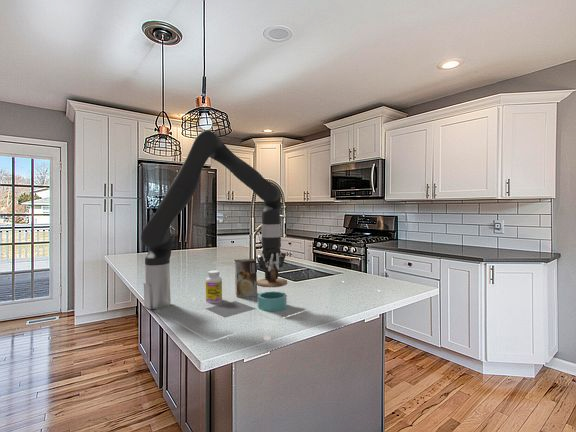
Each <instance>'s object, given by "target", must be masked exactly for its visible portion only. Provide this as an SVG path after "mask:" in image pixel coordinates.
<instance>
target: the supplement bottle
mask: <svg viewBox="0 0 576 432" xmlns="http://www.w3.org/2000/svg"><path fill="white" fill-rule="evenodd" d="M207 275H208V277H206V279H205V302H206V303H208V304H216V303H221V302H222V301H223V279H222V277H221V276H220V270H216V269H215V270H209V271H207Z"/></svg>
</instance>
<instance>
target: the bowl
mask: <svg viewBox="0 0 576 432" xmlns="http://www.w3.org/2000/svg"><path fill="white" fill-rule="evenodd" d="M287 303H288V302H287V294H286V293H285V292H282V291H275V290H274V291H264V292H260V293H258V294H257V308H258V310H260V311H263V312H279V311H283V310H285V309H287V305H288V304H287Z"/></svg>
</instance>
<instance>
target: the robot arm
mask: <svg viewBox="0 0 576 432" xmlns="http://www.w3.org/2000/svg"><path fill="white" fill-rule="evenodd" d="M209 158H211V159H212V160H213V161H217V163H219V164H221V165H222V166H224V167H225V168H226V169H228V171H229V172H230V173H231V174H233V176H234V177H236V178H237V179H238V180H239V181H240V182H241V183H243V184H244V185H245V186H246V187H248V188H249V189H250V190H252V191H253V192H254V193H255V194H256V196H257V197H259V198H260V200H262V201H263V210H262V212H261V213H262V214H261V248H262V251H261V254H260V255H256V262H257V263H258V266H259V268H260V270H263V271H264V279H266V280H267V281H270V280H271V271H270V270H271V268H275V269H276V279H278V278H279V270H280V269H281V268H283V266H284V262H285V260H286V255H287V254H286V252H282V251H281V248H282V233H281V232H282V229H281V214H280V211H281V203H282V192H281V190H280V188H279V186H277V185H275V184H273V183H272V182H270V181H268V180H267V179H266V178H264V177H263V175H262V174H261V173H260V172H258V170H257V169H255V168H254V167H253V166H252V165H250V164H249V163H247V162H246V161H244V160H242V159H241V158H240V157H238V156H237V155H236V154H235V153H234V152H232V151H231V150H230V149H229V148H228V147H227V145H226V144H225V143H224V142H223V141H222V140H221V138H220V137H219V136H218V135H216V133H214V132H213V131H211V130H208V129H207V130H202V131H201V132H199V133H198V135H196V137H195V139H194V140H193V144H192V146H191V148H190V150H189V152H188V155H187V157H186V159H185V160H184V161H183V164H182V166H181V167H180V169H179V171H178V173H177V175H176V176H175V177H174V179H173V180H172V182H171V183H170V186H169V188H168V190H167V192H166V193H165V195H164V196H163V197H162V200H161V202H160V204H159V206H158V207H157V209H156V211H155V212H154V214H153V216H152V217H151V218H150V220H148V223H146V225H145V226H144V228H143V229H142V231H141V239H140V240H141V242H142V244H143V245H144V246H145V247H147V248H148V252H147V254H146V256H145V259H144V270H145V271H144V272H145V273H144V275H145V278H144V279H145V281H144V283H143V307H145V308H146V309H148V310H156V309H162V308H166V307H169V306H171V304H172V303H171V302H172V301H171V300H172V299H171V270H170V269H171V267H170V266H171V265H170V264H171V262H170V259H171V255H172V231H171V230H170V226H171V224H172V223H173V221H174V220H175V218H176V217H177V216H178V215H179V214H180V213H181V212H182V211H183V210H184V209H185V208H186V206H187V205H188V204H189V202H190V201H191V200H192V197H193V196H194V194H195V192H196V191H197V188H198V185H199V182H200V177H201V174H202V173H201V172H202V170H203V168H204V166H205V164H206V162H207V161H208V160H209Z"/></svg>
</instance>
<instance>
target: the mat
mask: <svg viewBox="0 0 576 432" xmlns="http://www.w3.org/2000/svg"><path fill="white" fill-rule="evenodd" d="M204 309H205V310H207V311H210V312H212V313H214V314H216V315H217V316H221V317H223V318H228V317H232V316H235V315H238V314H241V313H245V312H249V311H253V310H256V307H253V306H250V305H247V304H245V303H242V302H239V301H237V300H235V301H230V302H226V303H222V304H218V305H214V306H211V307H206V308H204Z"/></svg>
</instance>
